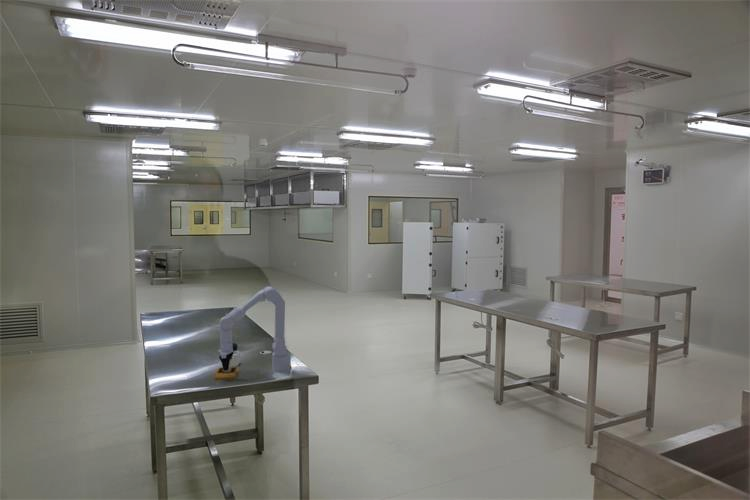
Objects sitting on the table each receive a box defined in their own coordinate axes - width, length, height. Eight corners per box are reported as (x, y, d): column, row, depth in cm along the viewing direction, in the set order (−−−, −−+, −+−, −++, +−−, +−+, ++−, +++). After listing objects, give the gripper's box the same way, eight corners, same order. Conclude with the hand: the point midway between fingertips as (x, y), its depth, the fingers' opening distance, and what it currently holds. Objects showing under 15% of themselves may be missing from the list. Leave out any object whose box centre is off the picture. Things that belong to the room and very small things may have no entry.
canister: (231, 370, 240) (232, 356, 240) (230, 373, 236) (230, 359, 236) (223, 370, 240) (223, 356, 239) (221, 373, 236) (222, 359, 235)
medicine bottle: (240, 364, 259) (239, 342, 259) (236, 368, 252) (236, 345, 252) (226, 364, 259) (226, 342, 258) (222, 368, 252) (222, 345, 251)
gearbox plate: (259, 372, 246) (259, 365, 246) (256, 380, 233) (256, 373, 233) (219, 373, 244) (219, 366, 244) (213, 382, 231) (213, 374, 231)
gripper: (221, 337, 244) (221, 364, 244) (214, 345, 229) (215, 373, 230) (235, 337, 244) (235, 363, 245) (229, 345, 230) (230, 373, 231)
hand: (226, 368), depth 238 cm, fingers closed on canister, 4 cm apart
